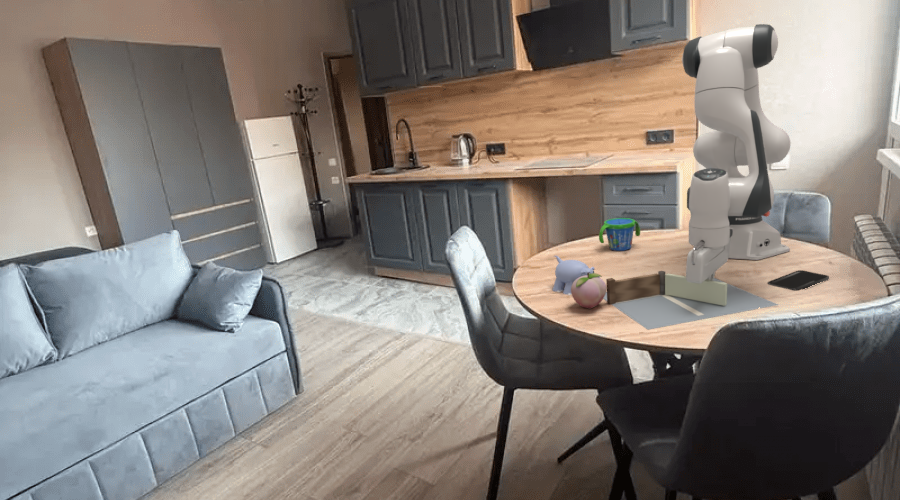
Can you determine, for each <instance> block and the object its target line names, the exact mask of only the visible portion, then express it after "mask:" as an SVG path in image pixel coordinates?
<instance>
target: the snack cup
mask: <svg viewBox="0 0 900 500" xmlns="http://www.w3.org/2000/svg"><path fill="white" fill-rule="evenodd" d="M634 228H635V232H634ZM604 232H606V237H607V239H606V240H607V243H608V247H609V249H610V250H612V251H616V252H623V251H627V250H630V249H632V244H633V236H634V234H635V236H636V237H640V235H641V227H640V224H639V222H638V221H637V220H635V219H633V218H628V217H616V218H610V219H607V220H605V221H604V223H603V225H602V226H601V228H600V230H599V234H598V240H599V242H600V243H601V244H605V240H604Z"/></svg>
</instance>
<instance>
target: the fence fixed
mask: <svg viewBox="0 0 900 500" xmlns="http://www.w3.org/2000/svg"><path fill="white" fill-rule="evenodd" d="M665 274H666V271H665V270H658V271H657V272H656V273H652V274H650V273H649V274H644V275H640V276H634V277H633V276H632V277H627V278H622V279H615V278H613V277H610V278H606V279H605V280H606V282H605V283H606V287H607V290H606V292H607V301H606V303H607V304H609V305H611V304H615V303H616V302H619V301H624V300H630V299H636V298H641V297H647V296H652V295H658V294H659V295H665Z"/></svg>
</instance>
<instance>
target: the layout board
mask: <svg viewBox="0 0 900 500" xmlns="http://www.w3.org/2000/svg"><path fill="white" fill-rule="evenodd" d="M713 281H717V282H724V283H727V282H725V281H723V280H721V279H718V278H716V277H714V279H713ZM603 300H604V301H605V302H607V291H606V294H605V296H604V298H603ZM610 305H611V306H612V307H614V308H616V309H617V310H619V311H620V312H621V313H623V314H624V315H626V316H627V317H628V318H630V319H632V320H633V321H634V322H636V323H638V324H639V325H640V326H642V327H643V328H644V329H646V330H648V331H649V330H655V329H659V328H665V327H669V326H675V325H676V326H677V325H680V324H681V325H682V324H685V323H690V322H697V321H703V320H706V319H713V318H717V317H724V316H727V315H732V314H734V315H735V314H738V313H745V312H747V311H754V310H759V309H758V308H759V307H760V309H763V308H764V309H765V308H770V307H775V306H779V304H778V303H776V302H773V301H770V300H768V299H766V298H764V297H761V296H758V294H757V295H756V294H754V293H752V292H749V291H747V290H745V289H742V288H740V287H737V286H736V285H733V284H731V283H727V304H726V305H725V306H723V305H717V304H712V303H707V302H702V301H697V300H692V299H686V298H681V297H676V296H671V295H666V294H665V295H659V294H658V295H652V296H647V297H641V298H636V299H630V300H624V301H619V302H616V303H615V304H610Z"/></svg>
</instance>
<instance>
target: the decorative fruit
mask: <svg viewBox="0 0 900 500" xmlns="http://www.w3.org/2000/svg"><path fill="white" fill-rule="evenodd" d="M599 276H600V278H599ZM601 277H602V275H601V274H599V273H596V272H595V273H592V274H589V273H587V275H585V276H581V277H579V278H577V279H576V280H575V281H574V282H573V284H572V286H571V293H572V294H571V296H572V298H573V300H574V302H576V303H577V305H579V306H581V307H582V308H585V309H592V308H594V307H595V308H596V307H597V306H598V305H599V304H601V302H602V301H603V300H604V299H603V298H604V296H605V294H606V292H607V283H606V282H605V281H604V280H603V279H602V278H601Z"/></svg>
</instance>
